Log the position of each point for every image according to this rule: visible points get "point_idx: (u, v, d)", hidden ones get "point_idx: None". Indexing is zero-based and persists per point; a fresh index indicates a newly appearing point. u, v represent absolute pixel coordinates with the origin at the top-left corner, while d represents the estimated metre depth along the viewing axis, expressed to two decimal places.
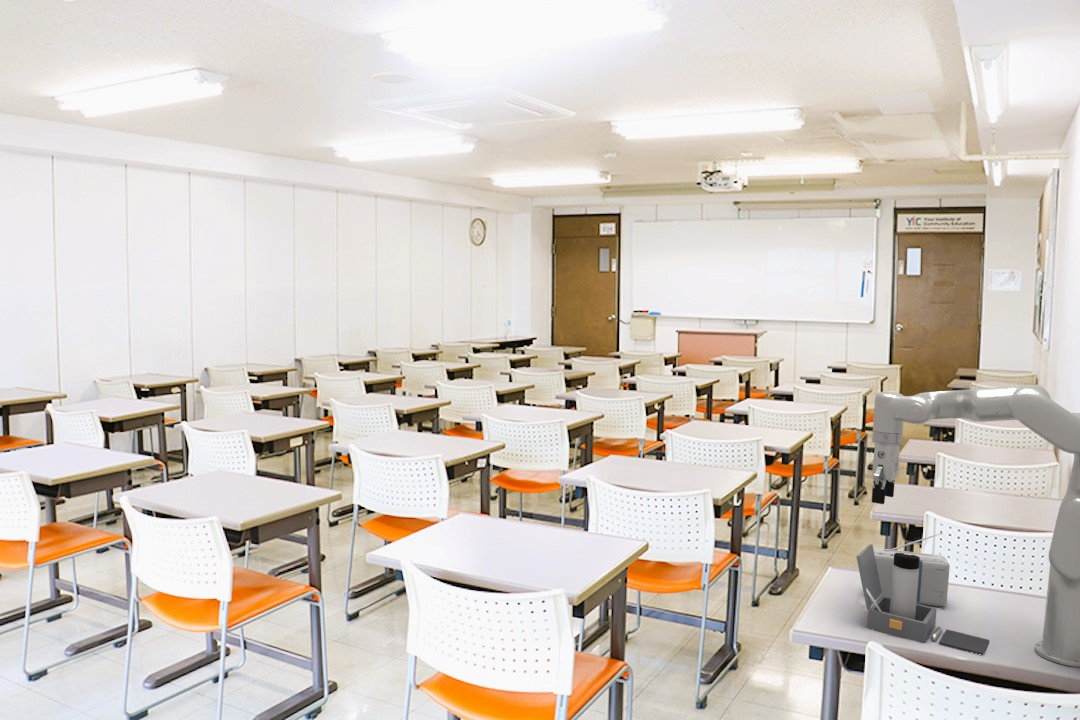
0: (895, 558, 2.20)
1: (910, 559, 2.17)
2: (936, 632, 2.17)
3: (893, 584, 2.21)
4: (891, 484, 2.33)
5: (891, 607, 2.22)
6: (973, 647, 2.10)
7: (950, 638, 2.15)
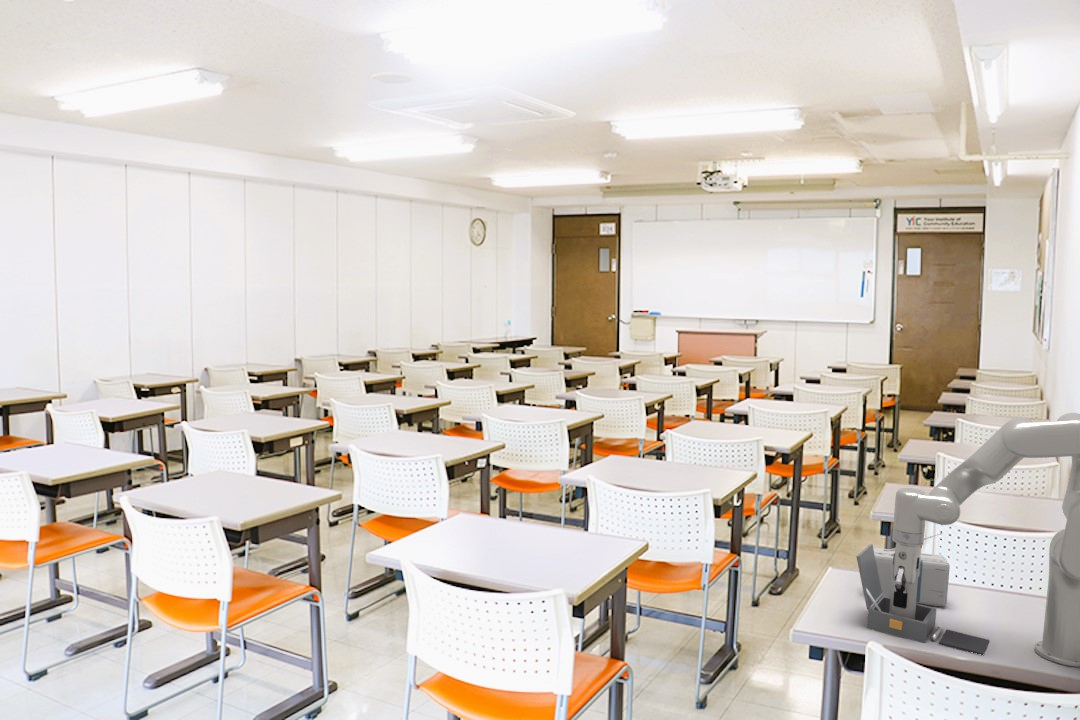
0: None
1: None
2: (936, 632, 2.17)
3: (892, 584, 2.21)
4: None
5: (891, 607, 2.22)
6: (973, 647, 2.10)
7: (950, 638, 2.15)
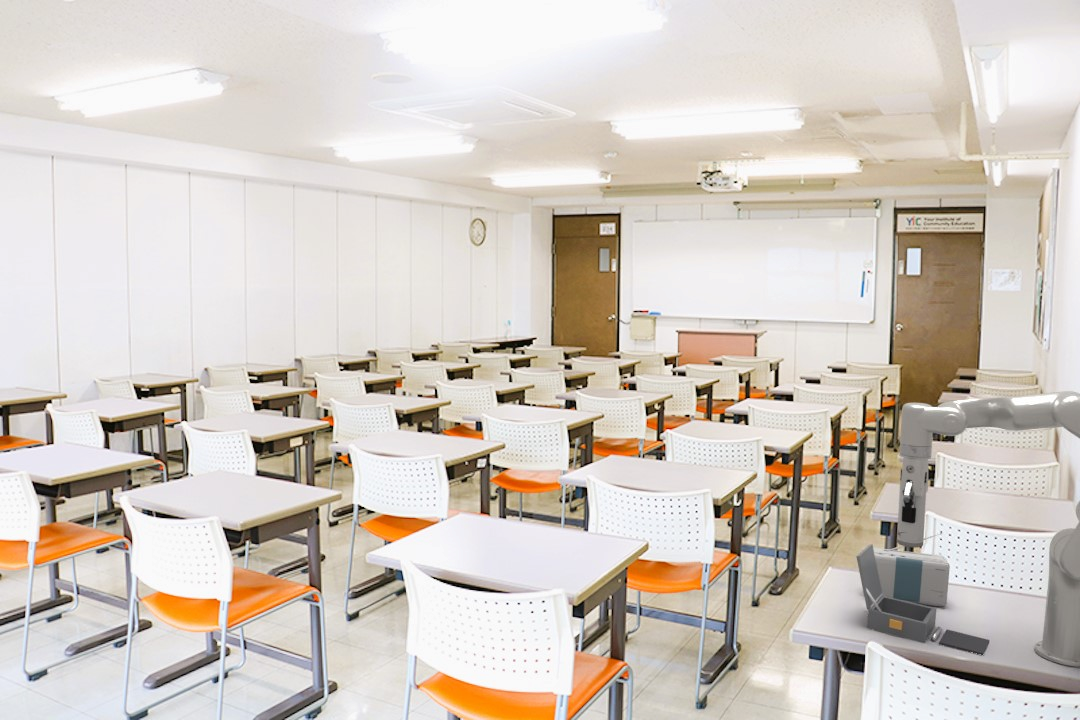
0: None
1: None
2: (936, 632, 2.17)
3: (900, 500, 2.19)
4: None
5: (899, 524, 2.19)
6: (973, 647, 2.10)
7: (950, 638, 2.15)
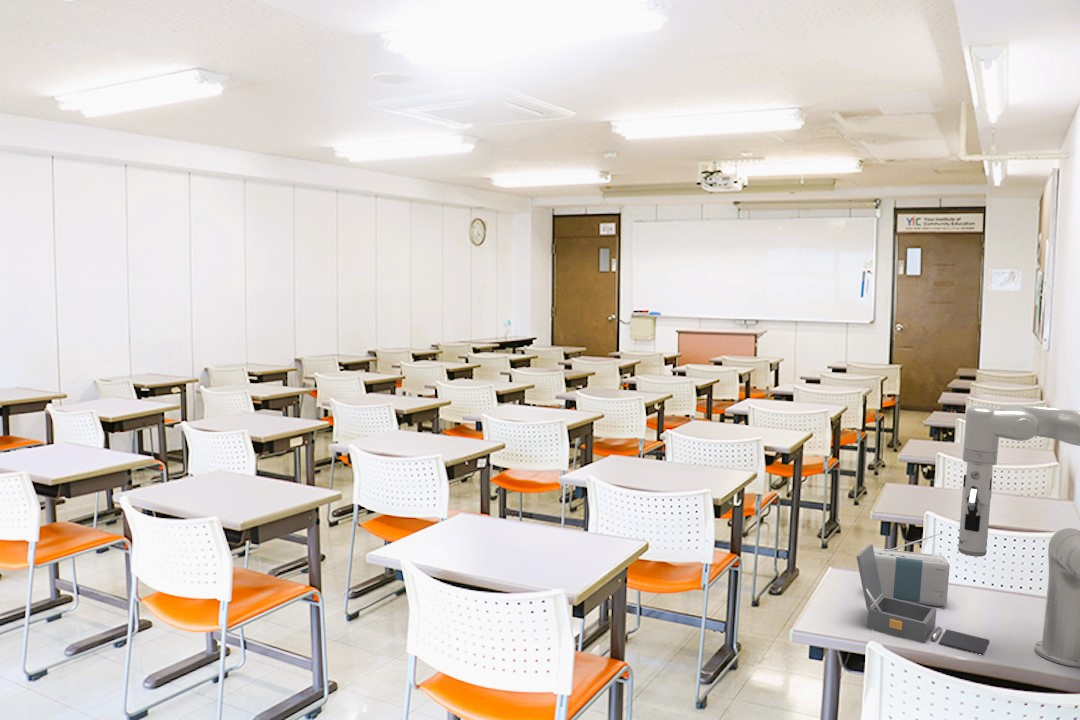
0: (965, 479, 2.09)
1: None
2: (936, 632, 2.17)
3: (963, 507, 2.10)
4: None
5: (961, 531, 2.11)
6: (973, 647, 2.10)
7: (950, 638, 2.15)
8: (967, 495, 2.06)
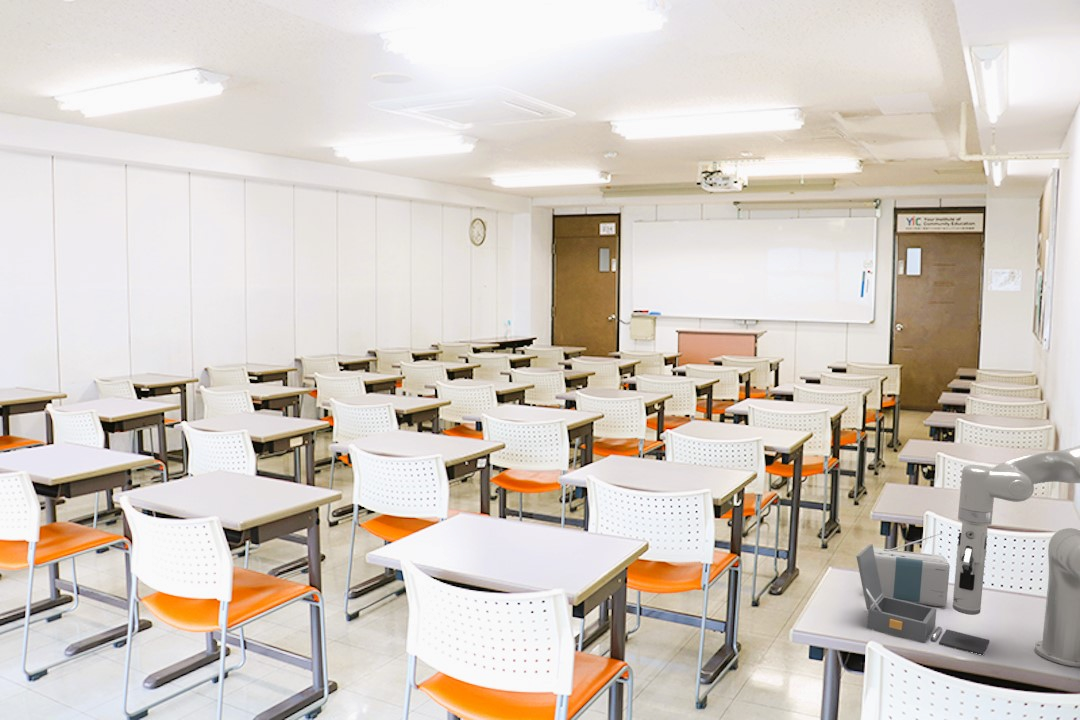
0: (960, 538, 2.11)
1: None
2: (936, 632, 2.17)
3: (958, 565, 2.11)
4: None
5: (956, 589, 2.12)
6: (973, 647, 2.10)
7: (950, 638, 2.15)
8: (962, 554, 2.08)
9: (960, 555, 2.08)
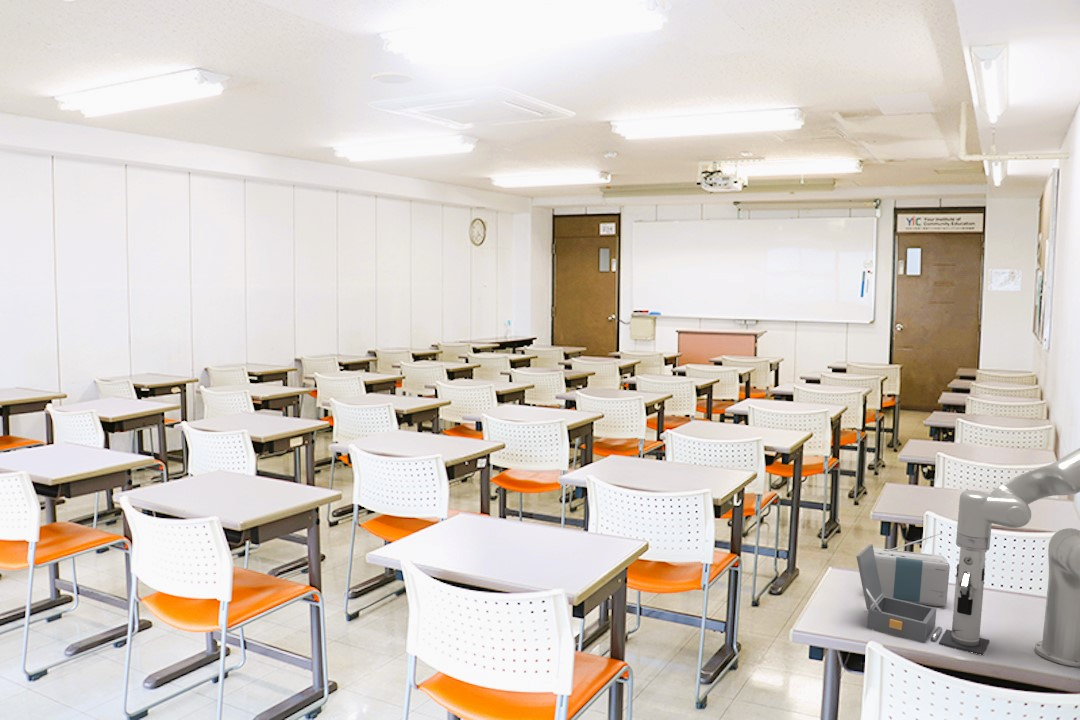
0: None
1: None
2: (936, 632, 2.17)
3: (956, 596, 2.12)
4: None
5: (954, 620, 2.13)
6: (973, 647, 2.10)
7: (950, 638, 2.15)
8: (960, 580, 2.09)
9: (958, 581, 2.09)
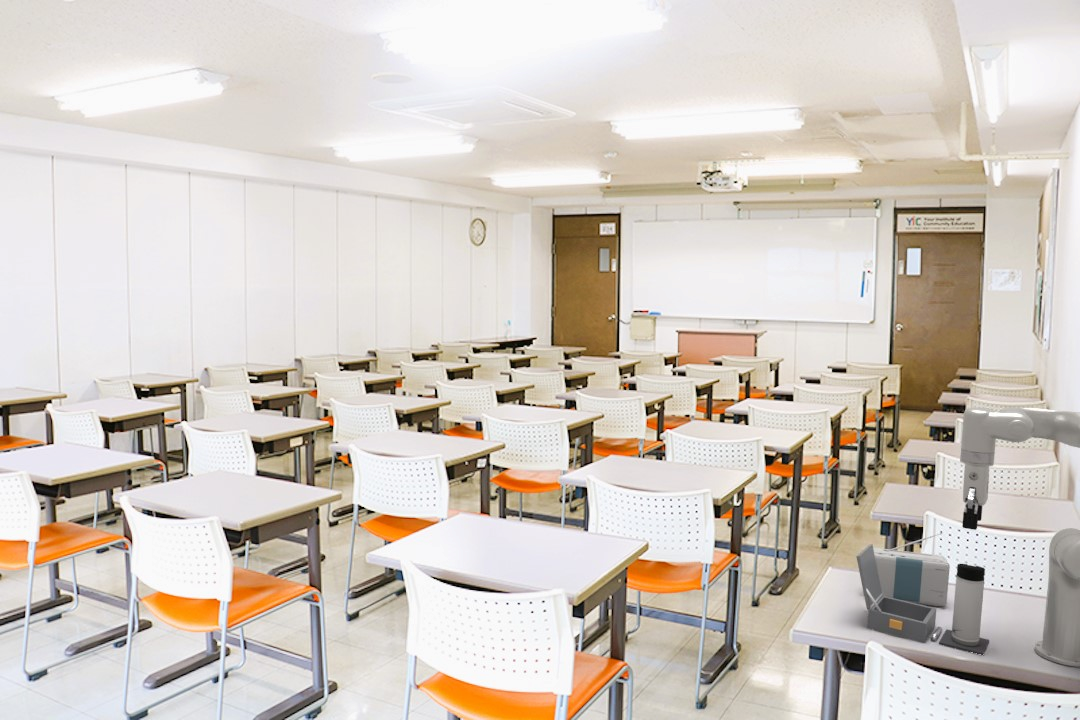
0: (959, 569, 2.11)
1: (975, 570, 2.08)
2: (936, 632, 2.17)
3: (956, 596, 2.12)
4: (979, 507, 2.16)
5: (954, 620, 2.13)
6: (973, 647, 2.10)
7: (950, 638, 2.15)
8: (965, 496, 2.09)
9: (964, 497, 2.09)
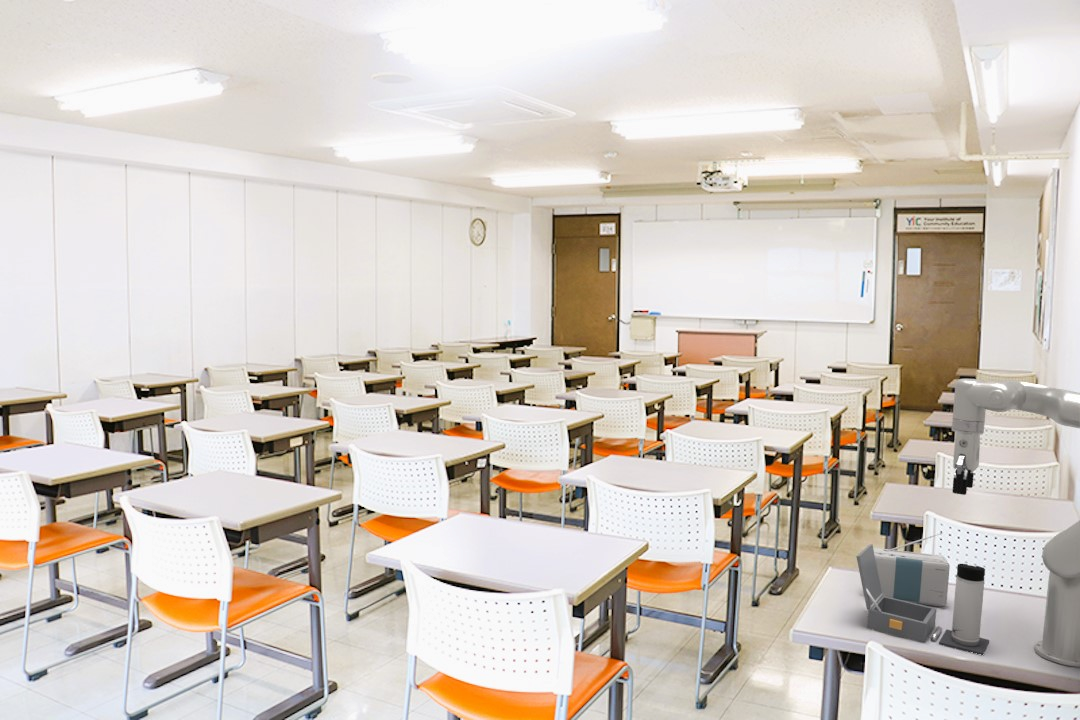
0: (959, 569, 2.11)
1: (975, 570, 2.08)
2: (936, 632, 2.17)
3: (956, 596, 2.12)
4: (970, 474, 2.25)
5: (954, 620, 2.13)
6: (973, 647, 2.10)
7: (950, 638, 2.15)
8: (955, 462, 2.19)
9: (954, 463, 2.19)
